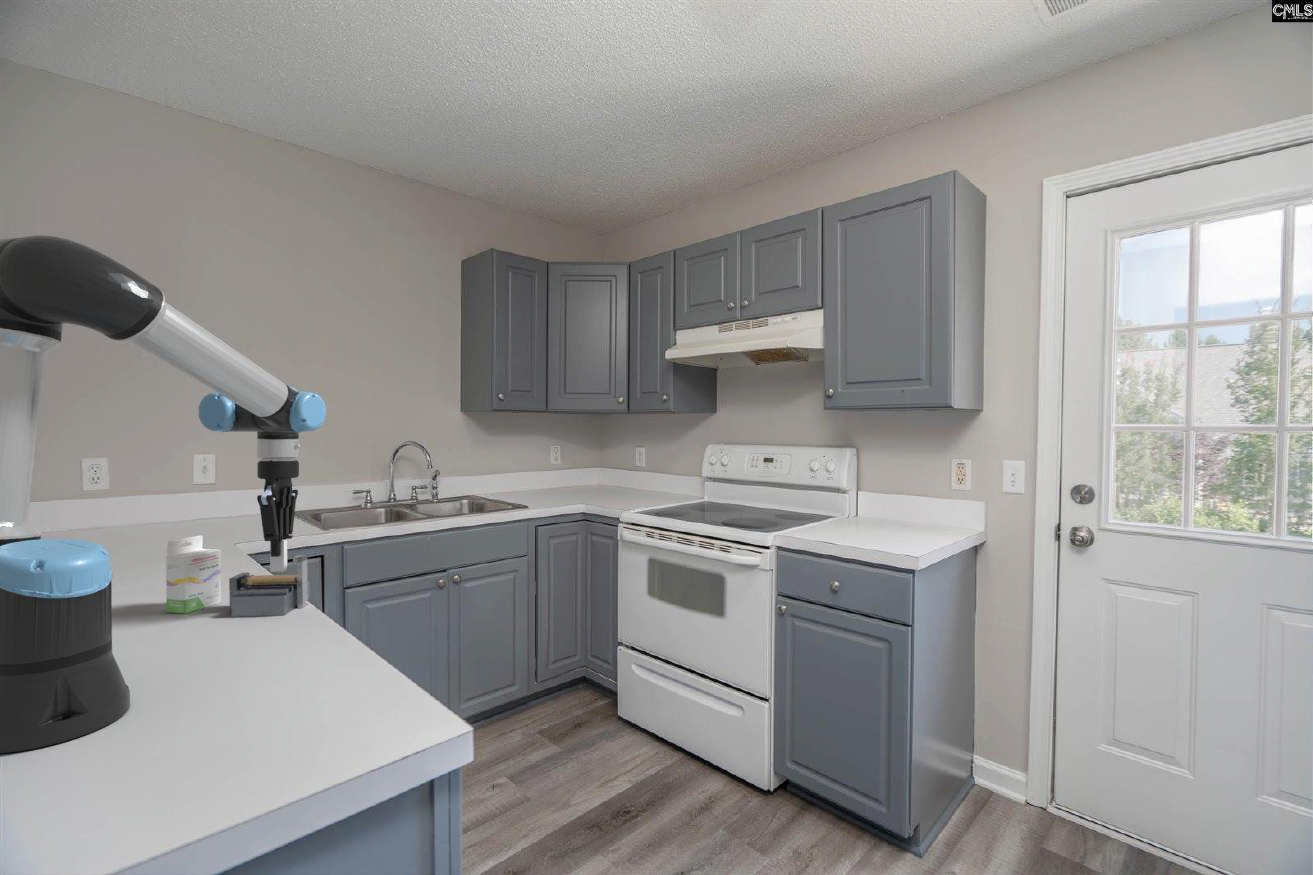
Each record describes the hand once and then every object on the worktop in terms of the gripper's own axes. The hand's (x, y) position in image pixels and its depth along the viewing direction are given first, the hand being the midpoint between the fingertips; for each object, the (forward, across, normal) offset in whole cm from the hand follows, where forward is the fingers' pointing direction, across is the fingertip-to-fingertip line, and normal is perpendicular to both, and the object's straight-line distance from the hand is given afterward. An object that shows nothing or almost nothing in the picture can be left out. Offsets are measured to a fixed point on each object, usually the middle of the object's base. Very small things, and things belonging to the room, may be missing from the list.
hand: (278, 570), depth 132 cm
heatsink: (+8, 0, +1) cm, 8 cm away
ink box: (+8, +2, +18) cm, 20 cm away
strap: (+2, 0, +2) cm, 3 cm away
